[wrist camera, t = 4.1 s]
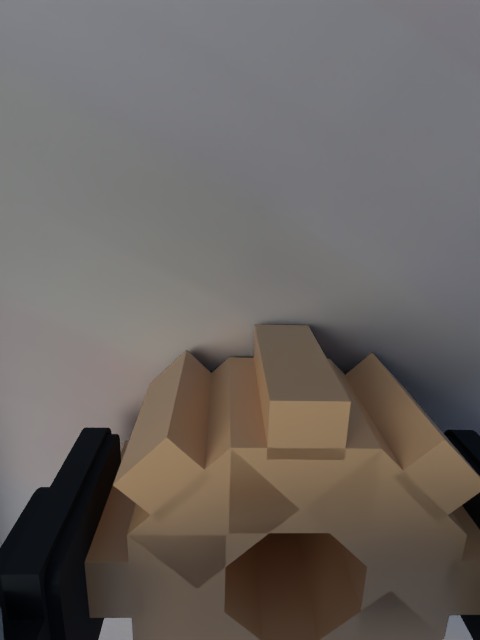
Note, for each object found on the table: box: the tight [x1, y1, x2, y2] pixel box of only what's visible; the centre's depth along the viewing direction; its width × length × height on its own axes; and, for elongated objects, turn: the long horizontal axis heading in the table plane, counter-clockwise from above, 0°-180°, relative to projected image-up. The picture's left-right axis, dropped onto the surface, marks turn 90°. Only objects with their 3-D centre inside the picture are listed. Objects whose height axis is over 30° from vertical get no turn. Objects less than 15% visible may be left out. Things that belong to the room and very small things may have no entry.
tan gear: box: [84, 324, 480, 640], centre depth 9 cm, size 7×7×4 cm
